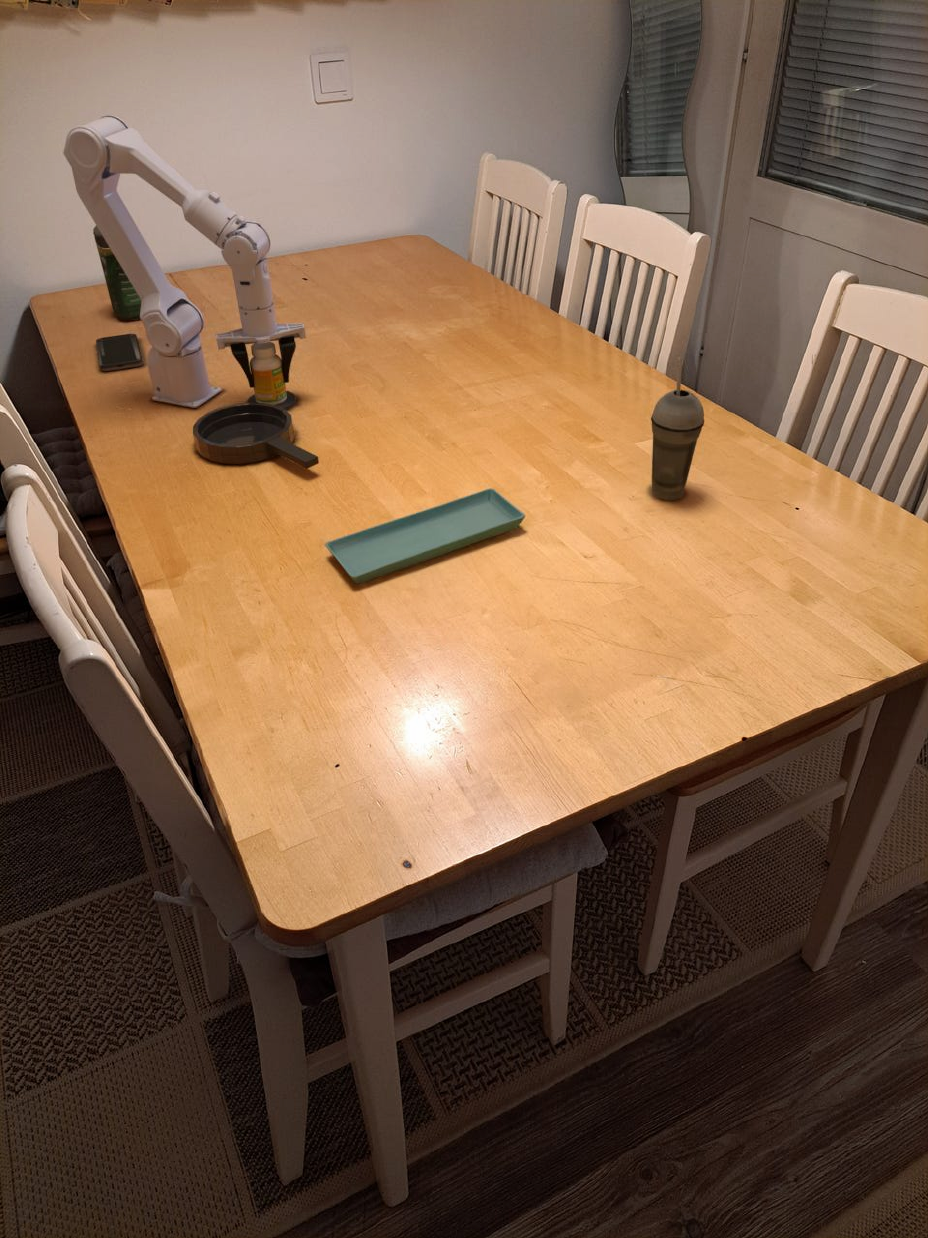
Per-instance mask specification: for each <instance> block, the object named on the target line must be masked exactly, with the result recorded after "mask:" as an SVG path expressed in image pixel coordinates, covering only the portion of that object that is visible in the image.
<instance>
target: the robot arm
mask: <svg viewBox="0 0 928 1238" xmlns="http://www.w3.org/2000/svg"><path fill="white" fill-rule="evenodd" d="M62 154H63V155H64V157H65V159H66V160H67V162H68V164H69V166H70V168H71V172H72V176H73V177H72V178H73V181H74V185H75V186H74V187H75V190H76V193H77V196H78V197H79V199H80V200H81V203H83V206H84V207H85V209H86V211H87V212H88V214H89V215H90V217H91V219H92V220H93V223H94V224H95V226H96V225H97V227H98V229H99V230H100V232H101V234H102V235H103V237H104V239H105V240H106V242H107V244H108V245H109V247H110V249H111V250H112V252H113V254H114V255H115V257H116V259H117V260H118V262H119V264H120V265H121V267H122V269H123V270H124V272H125V274H126V275H127V277H128V279H129V280H130V282H131V284H132V285H133V287H134V289H135V290H136V292H137V294H138V295H139V297H140V299H141V311H140V319H139V320H141V322H142V324H143V326H144V330H145V334H146V338H147V341H148V343H149V344H150V346H151V347H150V349H149V351H148V354H147V359H146V365H147V369H148V373H149V378H150V381H151V385H152V390H153V393H154V395H153V396H152V397H151V399H152V401H154V402H155V401H156V402H160V403H167V404H170V405H171V404H172V405H176V406H182V407H187V408H193V409H197V408H199V407H200V406H201V405H203V404H204V403H206V402H208V401H209V400H210V399H212V398H213V397H214V396H216V395H217V394H219V393H220V392H222V388H221V387H219V386H213V385H210V380H209V375H208V370H207V364H206V359H205V356H204V351H203V345H202V338H201V333H202V332H203V330H204V328H205V319H204V315H203V313H202V312H201V310H200V309H199V308H198V306H197V305H196V304H194V303H193V302H192V301H191V300H190V299H189V298H188V296H187V294H186V293H185V291H184V290H182V289H180V288H178V287H176V286H174V285H172V284H171V283H170V281H169V278H168V277H167V276H166V274H165V272H164V271H163V269H162V267H161V265H160V263H159V262H158V260H157V258H156V257H155V255H154V253H153V252H152V250H151V248H150V247H149V245H148V243H147V241H146V239H145V237H144V236H143V234H142V232H141V231H140V228H139V227H138V225H137V223H136V222H135V220H134V219H133V217H132V215H131V213H130V212H129V210H128V208H127V206H126V205H125V203H124V201H123V200H122V198H121V196H120V194H119V192H118V186H119V185H118V184H119V180H120V177H121V174H127V175H129V174H130V175H137V176H138V177H139V178H141V179H142V180H143V181H145V182H146V183H148V185H150V186H152V187H153V188H154V189H156V190H157V191H158V192H160V193H161V194H163V195H164V196H165V197H167V198H168V199H169V200H170V201H172V202H174V203H175V204H177V205H178V206H179V207H180V208H181V209H182V213H183V219H184V220H185V221H186V222H187V223H188V224H189V225H191V226H192V227H193V228H194V229H196V231H198V232H199V233H200V234H201V235H202V236H204V237H205V238H206V239H208V240H209V241H210V242H212V243H213V244H214V245H215V246H217V248H219V249H220V252H221V255H222V258H223V260H224V262H225V263H226V264H227V265H228V266H229V267H230V269H231V274H232V279H233V285H234V289H235V295H236V300H237V306H238V312H239V319H240V324H241V327H240V328H236V329H234V330H229V331H225V332H220V333H215V339H216V344H217V348H218V350H224V349H226V348H230V350H231V354H232V356H233V357H234V359H235V360H236V362H237V364H239V366H240V367H241V369H242V371H243V373H244V375H245V376H246V379H247V382H248V385H249V388H251V389H252V388H253V389H254V382H253V378H252V375H251V369H250V359H249V354H248V350H247V346H246V345H253V344H255V343H259V344H260V343H268V342H275V341H276V342H278V347H279V348H278V349H279V352H280V358H281V361H282V367H283V373H284V380H285V384H289V383H290V370H291V363H292V360H293V357H294V354H295V351H296V348H297V343H296V340H295V339H300V340H303V339H306V338H307V335H306V334H307V333H306V328H305V326H304V323H303V322H302V323H278V322H277V315H276V309H275V301H274V296H273V288H272V283H271V276H270V271H269V264H268V258H267V255H268V254H269V252H270V250H271V239H270V236H269V233H268V232H267V230H266V229H265V228H264V227H263V226H262V225H261V223H260V222H257V221H255V220H246V218H245V217H244V216H243V215H241V214H240V215H239V214H238V213H236V212H235V211H234V210H232V209H231V208H230V207H229V206H228V205H226V204H225V203H224V202H223V201H221V200H220V199H221V196H220V194H218V193H217V192H216V191H212V192H211V191H210V190H208V189H207V188H201V189H197V188H194V187H193V186H192V185H191V184H190V183H189V182H188V181H187V180H185V178H184V177H182V176H181V175H180V174H179V173H178V172H177V171H176V170H175V169H174V168H172V166H171V165H170V164H168V163H167V162H166V161H165V160H164V159H163V158H162V157H161V156H160V155H159V154H158V153H156V151H154V150H153V149H152V148H151V147H150V146H149V145H148V144H146V142H145V140H144V139H143V137H142V136H141V134H140V132H139V131H138V130H136V129H134V128H133V127H131V126H129V124H128V123H127V122H126V121H125V120H124V119H123V118H121V117H119V116H117V115H114V114H105V115H103V116H101V117H100V118H98V119H96V120H92V121H90V122H88V123H85V124H80V125H77V126H74V127H72V128H71V129H70V130H69V131H68V133H67V136H66V138H65V144H64V147H63V151H62Z"/></svg>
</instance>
